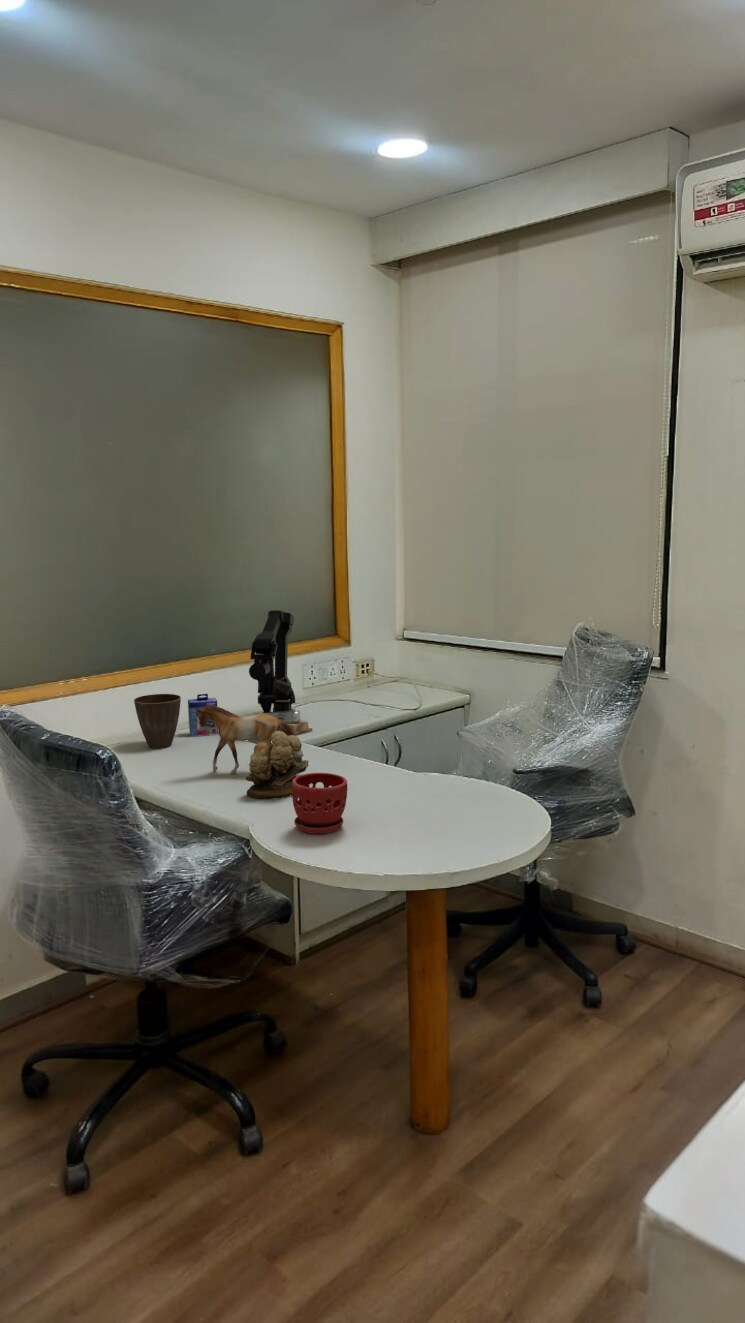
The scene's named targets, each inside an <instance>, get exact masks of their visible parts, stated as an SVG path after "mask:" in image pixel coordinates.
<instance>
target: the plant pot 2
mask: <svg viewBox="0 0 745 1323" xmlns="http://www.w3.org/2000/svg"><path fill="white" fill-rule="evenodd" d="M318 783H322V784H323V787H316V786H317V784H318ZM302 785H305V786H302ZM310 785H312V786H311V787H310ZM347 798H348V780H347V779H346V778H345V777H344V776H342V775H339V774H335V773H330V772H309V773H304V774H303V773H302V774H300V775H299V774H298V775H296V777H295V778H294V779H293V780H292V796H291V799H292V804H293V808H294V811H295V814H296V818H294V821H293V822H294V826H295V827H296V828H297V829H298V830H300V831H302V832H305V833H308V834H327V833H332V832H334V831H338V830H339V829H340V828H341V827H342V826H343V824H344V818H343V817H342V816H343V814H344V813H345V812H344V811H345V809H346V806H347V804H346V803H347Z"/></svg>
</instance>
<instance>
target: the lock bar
mask: <svg viewBox="0 0 745 1323" xmlns="http://www.w3.org/2000/svg"><path fill="white" fill-rule="evenodd" d="M261 713H263V714H268V715H271V716H273V717H275V718H278V717H283V721H284V722H293V723H297V722H300V720H301V711H300V710H292V711H278V712H273V711H271V712H264V711H255V712H254V715H257V714H261Z"/></svg>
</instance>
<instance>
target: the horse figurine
mask: <svg viewBox="0 0 745 1323" xmlns="http://www.w3.org/2000/svg"><path fill="white" fill-rule="evenodd" d="M194 709H195V710H197V711H196V716H197V729H198V730H199V731H202V730H203V729H204V725H205V724H206V722H207V721H208V720H209V719H211V720H212V721H213V723H214V724H215V726H216V727H217V728H218V733H219V734H218V735H219V737H220V739H219V742H218V745H217V747H216V749H215V752H214V757H213V760H212V771H213V772H214V773H215V772H217V770H218V768H219V767H218V765H217V760H218V755H219V754H220V752H221V750H223V749H224V747H225V746H226V745H227V746H228V747H229V749H230V751H231V754H232V757H233V760H234V764H235V766H234V767H233V769H232V770H231V772H230V775H232V776H233V775H237V773H238V768H239V767H240V764H239V760H238V751H237V747H236V743H235V742H236V741H244V740H248V739H252V738H254V737H258V739H259V740H260V741H261V742H263V743H266V744H268V745H269V746H270V747H271V749H272V747H273V743H271V742H270V739H271V735H272V734H273V733H274V732H276V731H280V728H281V729H283V731H284V733H285V734H286V735H287V736H290V735H294V736H296V734H295V732H294V731H293V729H292V728H291V727H290V725H288V724H287V723H285V722H284V721H282V720H280V719H277V718H275V717H273V716H271V715H268V714H263V713H261V714H257V715H250V716H239V715H238V714H235V713H233V712H231V711H229V710H226V709H225V708H222V707H219V706H218V705H217V706H211V705H207V706H203V707H201V708H194ZM302 757H304V754H302Z"/></svg>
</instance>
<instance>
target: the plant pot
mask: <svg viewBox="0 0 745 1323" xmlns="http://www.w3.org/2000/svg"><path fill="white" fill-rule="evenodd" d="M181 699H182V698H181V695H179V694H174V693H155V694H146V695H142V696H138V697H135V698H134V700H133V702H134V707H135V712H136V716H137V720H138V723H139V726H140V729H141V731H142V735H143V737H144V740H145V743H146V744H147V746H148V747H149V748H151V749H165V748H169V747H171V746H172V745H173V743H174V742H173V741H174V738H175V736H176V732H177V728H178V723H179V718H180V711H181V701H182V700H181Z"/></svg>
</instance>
